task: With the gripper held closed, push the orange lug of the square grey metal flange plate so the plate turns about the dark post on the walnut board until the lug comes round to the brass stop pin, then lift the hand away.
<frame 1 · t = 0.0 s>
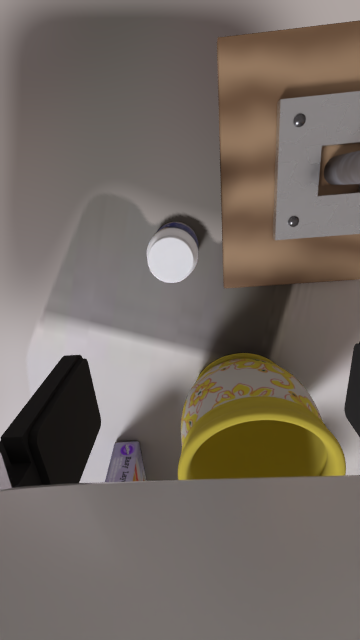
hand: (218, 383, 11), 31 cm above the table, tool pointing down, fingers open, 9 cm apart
pill bottle: (175, 244, 40), on the table
flowerpot: (239, 388, 48), on the table
cake pan box: (136, 477, 57), on the table
board: (332, 170, 36), on the table
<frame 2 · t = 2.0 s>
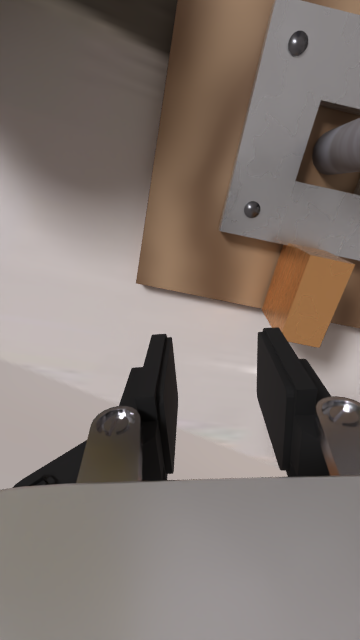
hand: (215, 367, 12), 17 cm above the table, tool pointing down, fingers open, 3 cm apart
flange plate: (336, 196, 21), point 4 cm above the table, hinge at 0.0°
board: (326, 154, 24), on the table
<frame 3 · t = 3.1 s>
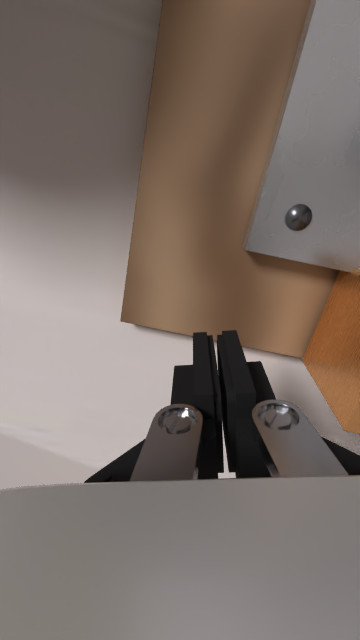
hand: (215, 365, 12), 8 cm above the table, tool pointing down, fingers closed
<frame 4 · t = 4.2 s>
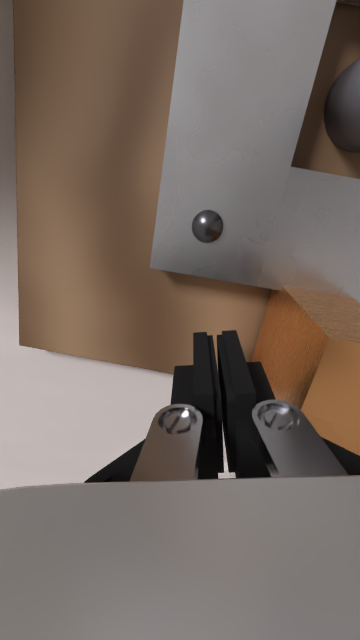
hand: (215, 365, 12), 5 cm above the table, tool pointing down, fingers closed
board: (350, 113, 12), on the table
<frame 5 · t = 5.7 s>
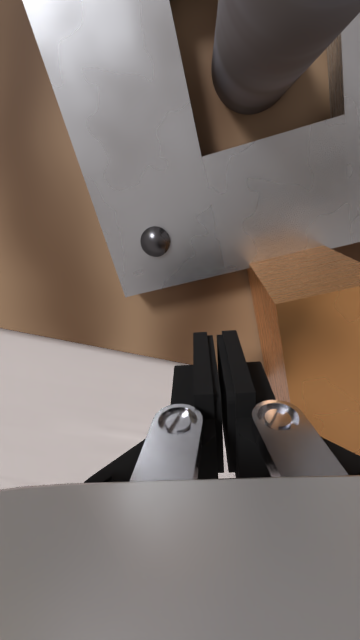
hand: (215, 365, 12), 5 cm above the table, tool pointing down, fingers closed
flange plate: (285, 145, 9), point 4 cm above the table, hinge at 25.4°, touching gripper
board: (247, 77, 12), on the table
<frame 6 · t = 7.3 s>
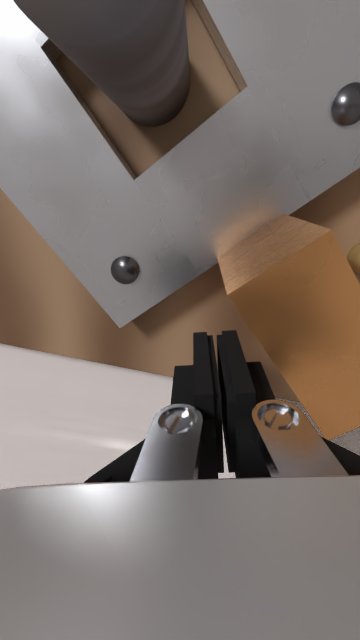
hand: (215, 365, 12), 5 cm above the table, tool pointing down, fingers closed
flange plate: (194, 142, 10), point 4 cm above the table, hinge at 46.7°, touching gripper
board: (154, 89, 13), on the table
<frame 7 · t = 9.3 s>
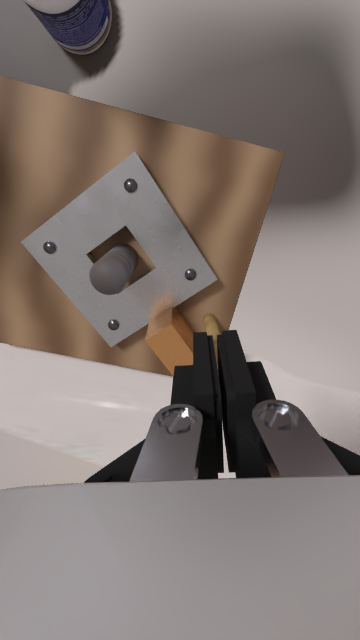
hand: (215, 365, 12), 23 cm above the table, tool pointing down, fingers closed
pill bottle: (79, 15, 26), on the table
flange plate: (137, 290, 30), point 5 cm above the table, hinge at 46.9°
board: (125, 256, 33), on the table
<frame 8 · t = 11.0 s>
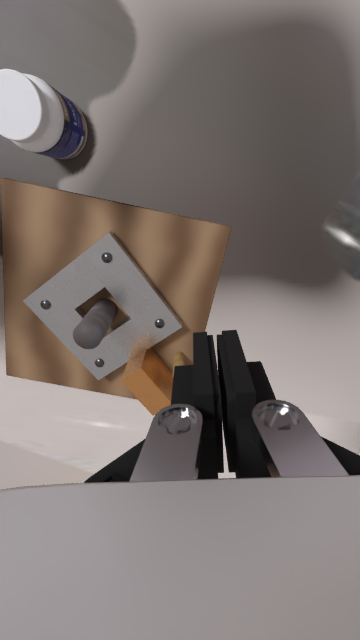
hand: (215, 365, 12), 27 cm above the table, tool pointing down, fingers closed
pill bottle: (62, 129, 33), on the table
flange plate: (115, 338, 37), point 4 cm above the table, hinge at 46.9°
board: (108, 306, 40), on the table
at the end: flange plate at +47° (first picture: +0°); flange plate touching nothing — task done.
